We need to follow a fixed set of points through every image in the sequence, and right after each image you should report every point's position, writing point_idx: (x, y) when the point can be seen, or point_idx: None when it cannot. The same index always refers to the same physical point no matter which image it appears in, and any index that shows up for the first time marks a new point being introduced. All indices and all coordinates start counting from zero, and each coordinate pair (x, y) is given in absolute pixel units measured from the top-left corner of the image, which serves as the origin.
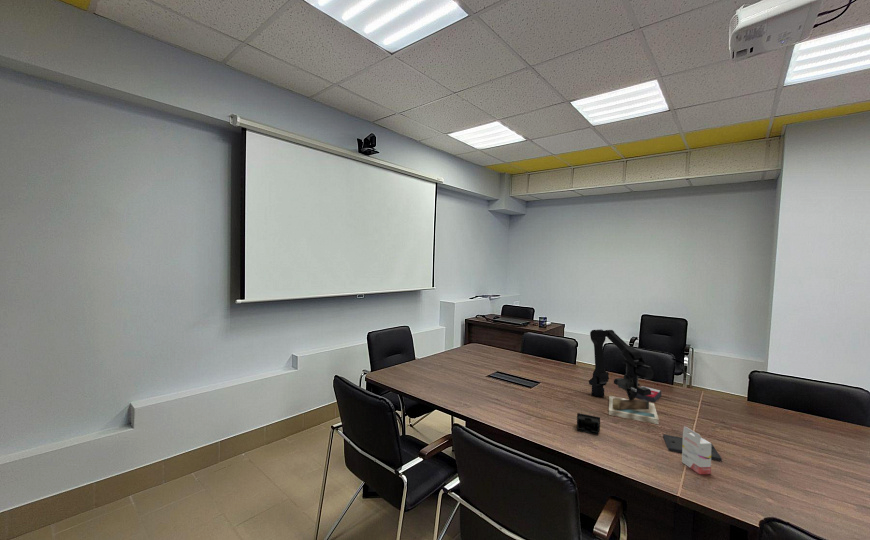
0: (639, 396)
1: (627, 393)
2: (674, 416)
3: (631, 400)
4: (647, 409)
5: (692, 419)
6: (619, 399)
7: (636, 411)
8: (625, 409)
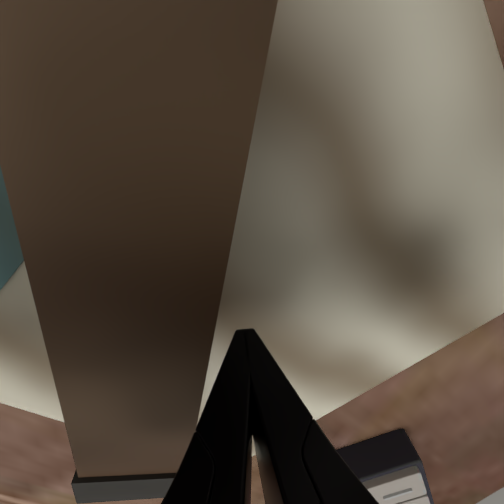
0: (376, 456)
1: (336, 478)
2: (71, 454)
3: (168, 347)
4: None
5: (25, 495)
6: (433, 306)
7: (3, 211)
8: None
